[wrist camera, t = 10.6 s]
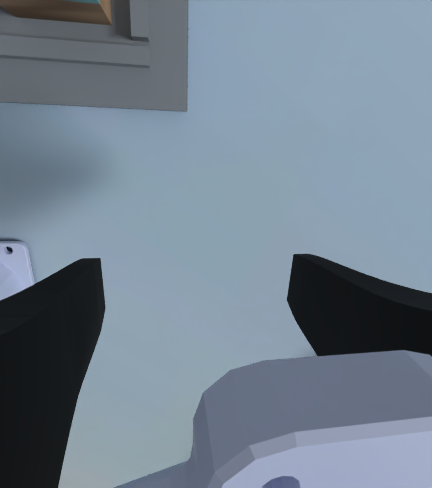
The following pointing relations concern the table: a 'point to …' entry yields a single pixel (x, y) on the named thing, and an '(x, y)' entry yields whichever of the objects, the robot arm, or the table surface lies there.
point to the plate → (99, 58)
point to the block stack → (61, 10)
